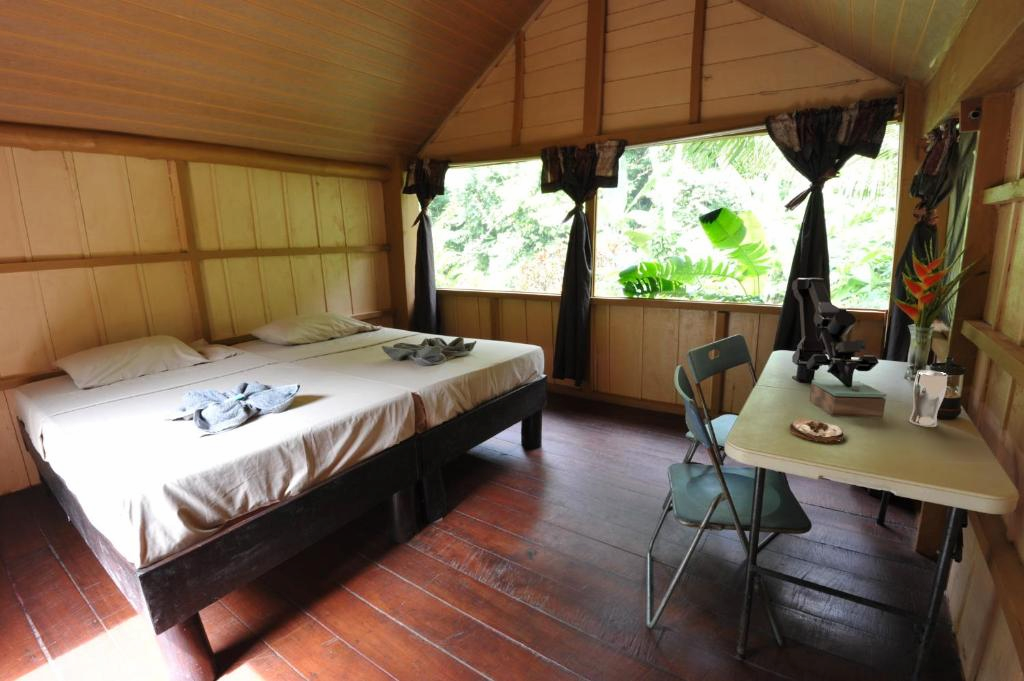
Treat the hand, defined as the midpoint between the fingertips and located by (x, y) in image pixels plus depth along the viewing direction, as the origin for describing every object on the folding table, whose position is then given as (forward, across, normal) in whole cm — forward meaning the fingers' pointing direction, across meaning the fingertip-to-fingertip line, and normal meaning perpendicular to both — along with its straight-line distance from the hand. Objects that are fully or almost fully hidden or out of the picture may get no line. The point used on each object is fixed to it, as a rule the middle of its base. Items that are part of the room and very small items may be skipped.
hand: (849, 386), depth 149 cm
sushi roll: (+19, -18, -7) cm, 27 cm away
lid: (0, 0, +2) cm, 2 cm away
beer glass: (+12, +16, -1) cm, 20 cm away
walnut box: (+5, 0, +6) cm, 8 cm away
